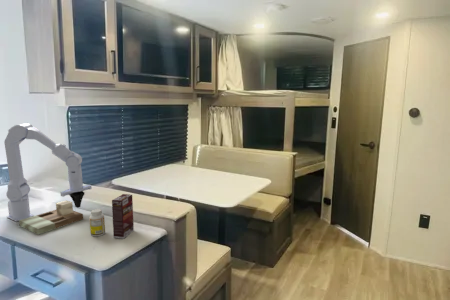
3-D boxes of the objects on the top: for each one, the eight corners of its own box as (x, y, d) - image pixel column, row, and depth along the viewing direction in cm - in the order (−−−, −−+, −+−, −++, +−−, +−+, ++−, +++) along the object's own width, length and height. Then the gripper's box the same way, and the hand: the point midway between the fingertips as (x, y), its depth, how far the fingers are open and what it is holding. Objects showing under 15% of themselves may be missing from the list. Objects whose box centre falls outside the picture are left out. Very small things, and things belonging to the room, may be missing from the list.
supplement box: (124, 239, 124) (122, 200, 122) (113, 238, 125) (110, 200, 123) (134, 230, 133) (132, 194, 130) (124, 229, 134) (122, 193, 131)
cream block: (56, 213, 145) (55, 203, 144) (67, 210, 149) (66, 200, 148) (62, 215, 142) (61, 205, 141) (73, 212, 146) (72, 202, 145)
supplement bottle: (97, 230, 133) (96, 207, 131) (108, 232, 131) (106, 209, 129) (87, 235, 127) (85, 211, 126) (98, 238, 125) (96, 213, 124)
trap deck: (19, 225, 137) (19, 220, 137) (64, 212, 154) (63, 207, 153) (38, 234, 129) (37, 228, 128) (83, 219, 145) (82, 213, 144)
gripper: (65, 184, 140) (67, 213, 143) (94, 177, 152) (96, 204, 155) (57, 182, 144) (59, 210, 146) (85, 175, 156) (87, 201, 158)
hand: (77, 206), depth 151 cm, fingers closed
